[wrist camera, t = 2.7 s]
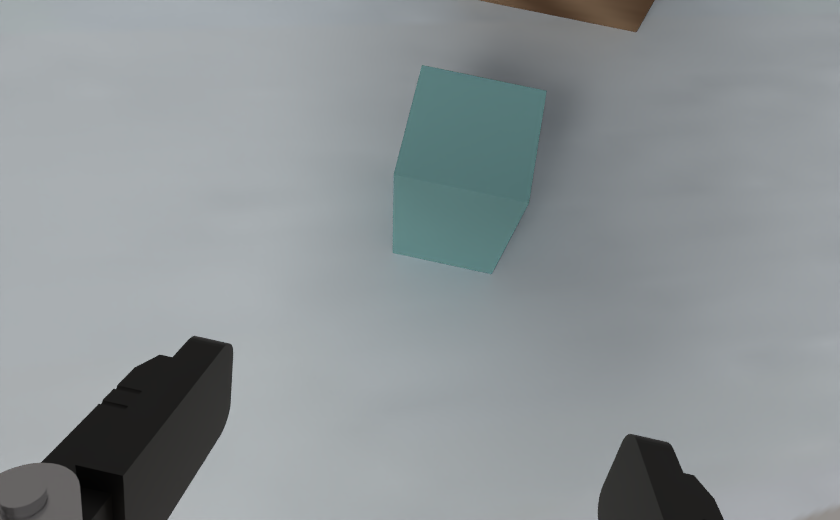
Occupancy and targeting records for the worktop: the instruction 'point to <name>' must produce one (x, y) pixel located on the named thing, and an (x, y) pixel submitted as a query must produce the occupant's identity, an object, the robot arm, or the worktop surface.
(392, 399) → the worktop surface
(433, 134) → the teal block
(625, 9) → the tower bottom
